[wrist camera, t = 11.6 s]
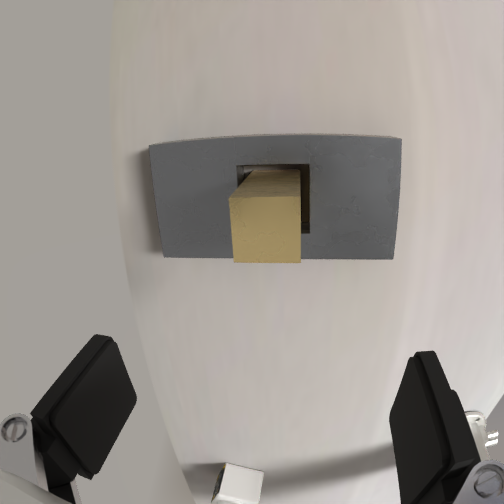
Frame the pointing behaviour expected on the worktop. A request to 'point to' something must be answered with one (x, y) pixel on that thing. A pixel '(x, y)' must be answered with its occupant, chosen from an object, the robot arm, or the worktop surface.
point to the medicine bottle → (238, 485)
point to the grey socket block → (280, 152)
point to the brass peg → (267, 217)
